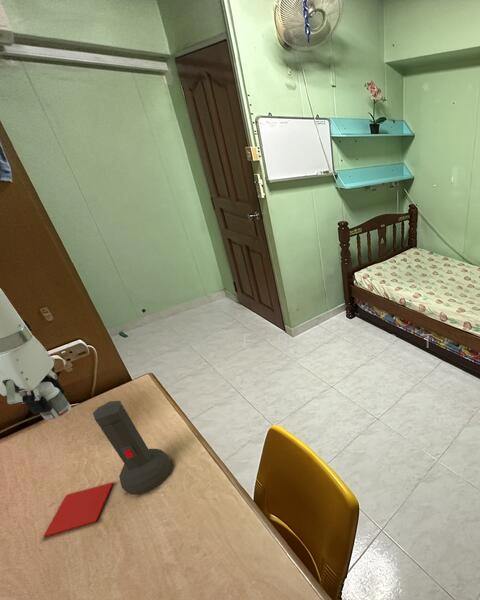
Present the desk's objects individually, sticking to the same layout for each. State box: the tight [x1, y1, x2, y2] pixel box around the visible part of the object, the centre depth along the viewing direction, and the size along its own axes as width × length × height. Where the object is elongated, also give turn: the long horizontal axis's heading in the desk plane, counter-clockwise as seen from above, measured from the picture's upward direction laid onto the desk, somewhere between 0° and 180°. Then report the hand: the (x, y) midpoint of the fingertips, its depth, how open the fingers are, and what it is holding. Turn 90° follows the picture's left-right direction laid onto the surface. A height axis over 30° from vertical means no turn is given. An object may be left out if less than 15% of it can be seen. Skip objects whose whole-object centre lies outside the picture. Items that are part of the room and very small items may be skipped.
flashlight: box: [92, 400, 172, 495], centre depth 72 cm, size 10×25×10 cm
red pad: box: [43, 482, 114, 538], centre depth 71 cm, size 9×9×1 cm
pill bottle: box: [26, 382, 72, 422], centre depth 73 cm, size 5×5×8 cm
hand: (49, 402), depth 73 cm, fingers closed on pill bottle, 4 cm apart
